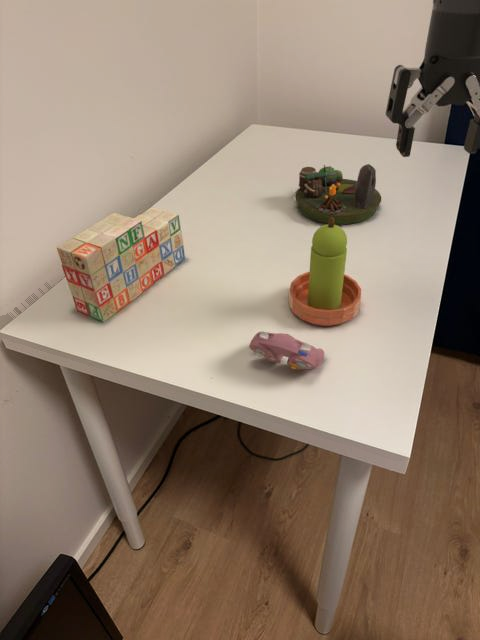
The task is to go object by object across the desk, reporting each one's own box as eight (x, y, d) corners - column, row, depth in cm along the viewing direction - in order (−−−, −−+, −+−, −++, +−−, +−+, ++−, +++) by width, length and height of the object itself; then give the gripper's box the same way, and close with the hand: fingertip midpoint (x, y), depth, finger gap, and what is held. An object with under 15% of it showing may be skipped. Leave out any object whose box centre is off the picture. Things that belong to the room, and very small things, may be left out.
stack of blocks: (160, 250, 93) (150, 190, 85) (186, 259, 90) (178, 197, 82) (75, 311, 79) (54, 245, 71) (103, 323, 76) (84, 256, 68)
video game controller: (252, 363, 70) (241, 345, 64) (263, 336, 72) (254, 315, 66) (317, 384, 67) (312, 366, 61) (328, 354, 68) (324, 334, 62)
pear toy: (347, 305, 77) (358, 219, 67) (322, 317, 75) (329, 230, 65) (325, 289, 80) (333, 205, 70) (300, 300, 78) (305, 215, 68)
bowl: (373, 310, 76) (376, 294, 74) (319, 337, 72) (321, 321, 70) (327, 278, 84) (328, 262, 81) (275, 301, 79) (275, 285, 77)
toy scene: (348, 235, 94) (354, 184, 88) (277, 209, 104) (278, 160, 98) (395, 203, 104) (404, 154, 97) (326, 182, 114) (330, 136, 107)
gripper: (415, 13, 49) (390, 167, 60) (553, 5, 50) (505, 161, 60) (394, 4, 55) (374, 146, 66) (517, -3, 55) (478, 140, 66)
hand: (436, 153), depth 63 cm, fingers open, 8 cm apart
